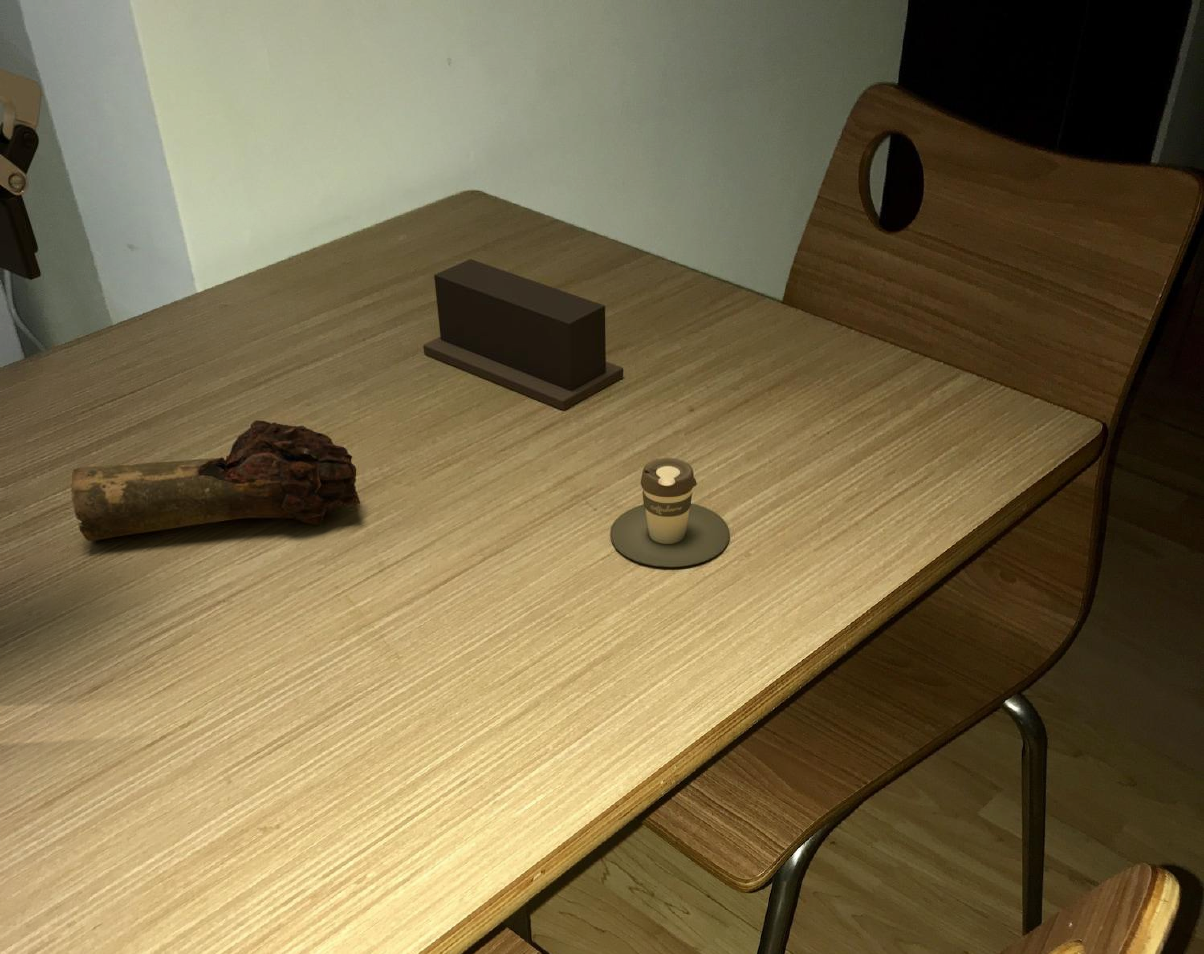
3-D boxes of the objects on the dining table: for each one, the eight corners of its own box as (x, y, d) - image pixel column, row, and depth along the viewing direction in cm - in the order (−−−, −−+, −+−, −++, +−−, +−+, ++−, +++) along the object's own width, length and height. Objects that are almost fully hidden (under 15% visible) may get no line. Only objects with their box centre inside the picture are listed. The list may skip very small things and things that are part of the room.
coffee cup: (743, 484, 88) (747, 416, 84) (773, 585, 79) (779, 514, 76) (567, 493, 87) (565, 426, 84) (578, 596, 79) (576, 525, 75)
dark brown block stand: (423, 354, 103) (415, 279, 99) (485, 324, 107) (479, 251, 102) (563, 411, 96) (560, 332, 92) (623, 377, 99) (623, 300, 95)
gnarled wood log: (86, 555, 83) (58, 476, 79) (102, 501, 88) (77, 424, 84) (362, 531, 84) (348, 453, 80) (363, 480, 89) (350, 403, 85)
